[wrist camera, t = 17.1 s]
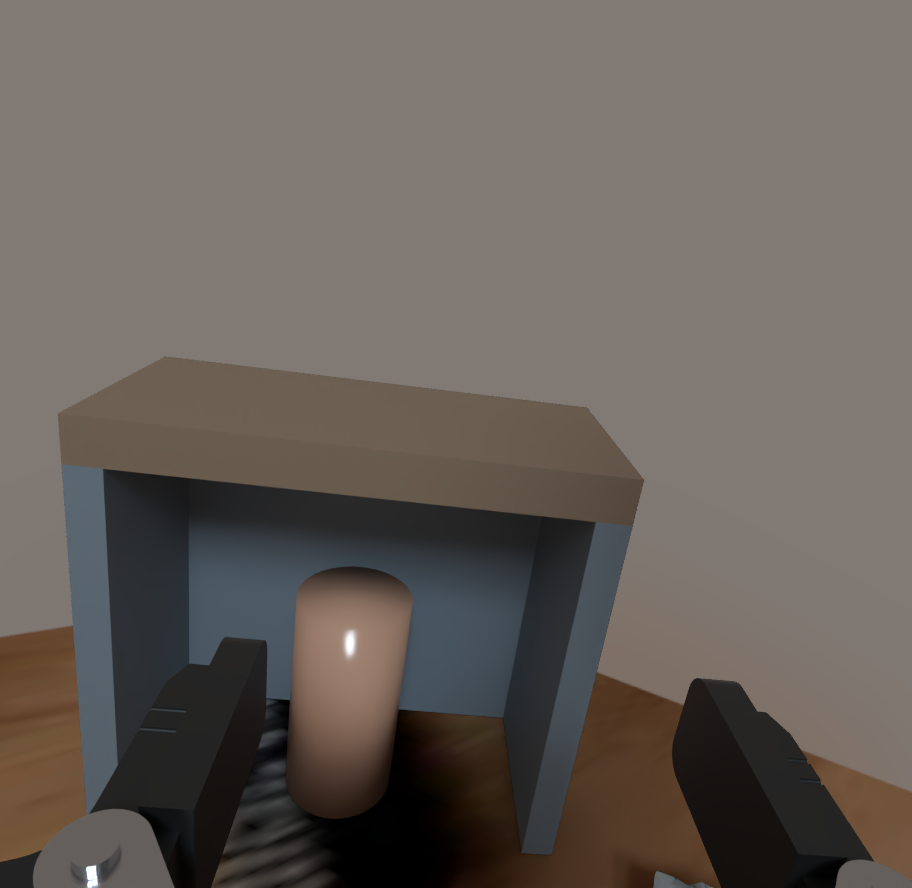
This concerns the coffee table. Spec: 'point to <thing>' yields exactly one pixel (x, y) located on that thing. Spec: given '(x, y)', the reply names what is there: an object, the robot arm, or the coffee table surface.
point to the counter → (345, 546)
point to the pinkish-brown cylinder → (345, 689)
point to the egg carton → (673, 882)
